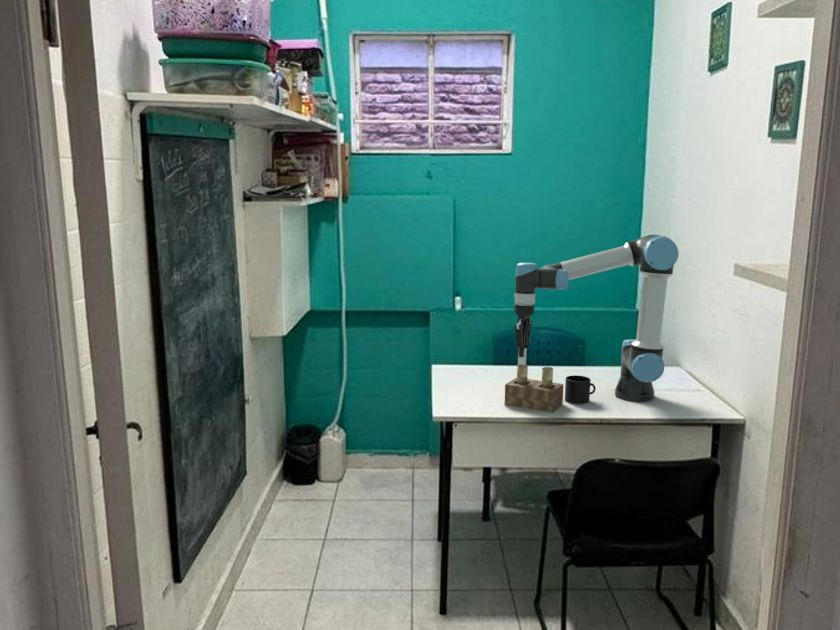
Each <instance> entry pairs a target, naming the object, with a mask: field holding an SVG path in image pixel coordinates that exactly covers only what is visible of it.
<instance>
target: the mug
mask: <svg viewBox="0 0 840 630" xmlns="http://www.w3.org/2000/svg"><path fill="white" fill-rule="evenodd" d="M591 381H592V380H591V378H590V377H588V376H585V375H575V374H574V375H568V376H566V377H565V383H564V384H565V385H564V386H565V388H564V401H565V402H567V403H570V404H574V405H585V404H588V403H589V402H590V395H593V394H594V393H595V392H596V385H595V384H594V383H593V382H591ZM591 386H592V389H593V390H592V391H591Z"/></svg>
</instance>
